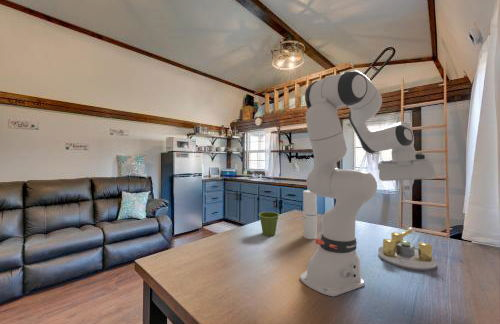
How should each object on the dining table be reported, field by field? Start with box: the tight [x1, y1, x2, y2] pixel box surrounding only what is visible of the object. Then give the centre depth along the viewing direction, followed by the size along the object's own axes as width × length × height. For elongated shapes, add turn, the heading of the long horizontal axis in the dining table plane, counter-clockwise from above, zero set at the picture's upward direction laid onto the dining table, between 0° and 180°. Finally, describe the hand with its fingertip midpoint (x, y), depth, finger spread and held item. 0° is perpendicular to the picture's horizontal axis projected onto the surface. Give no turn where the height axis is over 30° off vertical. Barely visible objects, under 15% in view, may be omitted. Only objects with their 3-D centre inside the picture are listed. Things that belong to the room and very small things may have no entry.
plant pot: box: [258, 211, 280, 237], centre depth 127 cm, size 12×12×11 cm
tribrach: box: [377, 238, 437, 272], centre depth 95 cm, size 20×20×8 cm
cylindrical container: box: [302, 189, 318, 240], centre depth 122 cm, size 7×7×25 cm
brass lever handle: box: [390, 227, 415, 248], centre depth 106 cm, size 20×4×6 cm, turn 126°
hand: (407, 190), depth 96 cm, fingers closed
